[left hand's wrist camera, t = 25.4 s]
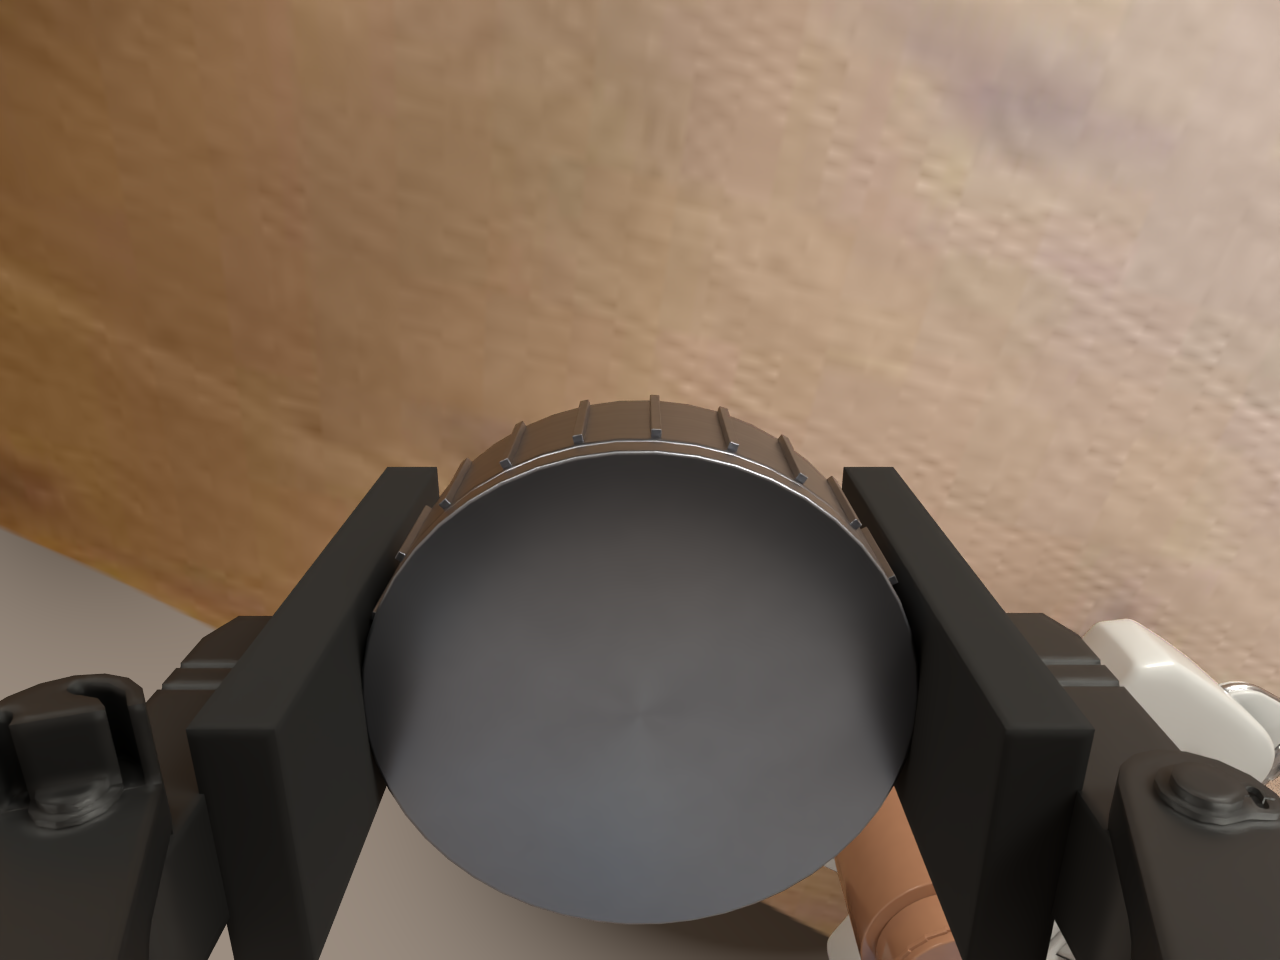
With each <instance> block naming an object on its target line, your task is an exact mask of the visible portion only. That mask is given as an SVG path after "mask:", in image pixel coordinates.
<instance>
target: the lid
mask: <svg viewBox="0 0 1280 960" xmlns="http://www.w3.org/2000/svg"><path fill="white" fill-rule="evenodd" d="M861 526H862V524H861V522H860V520H859V519H858V517H857V515H856V514H855V512H854V510H853V508H852V507H851V505H850V503H849V501H848V500H847V498H846V496H845V494H844V493H843V491H842V489H841V487H840V486H839V484H838V482H837V481H836V480H835V478H834V477H833V476H831V477H829V478H828V479H826V478H825V477H824V476H823V475H822V474H821V473H820V472H819V471H818V470H817V469H816V468H815V467H814V466H813V465H812V464H811V463H809V462H808V461H807V460H806V459H805V458H804V457H802V456H801V455H800V454H798V453H797V452H796V451H794V449H793V447H792V445H791V443H790V441H789V439H788V438H787V437H786V436H784V435H781V436H780V437H779V438H778V439H777V438H775V437H774V436H772V435H770V434H768V433H766V432H764V431H763V430H761V429H759V428H757V427H755V426H754V425H752V424H749V423H746V422H744V421H741V420H739V419H736V418H734V417H731V416H730V415H729V412H728V409H727V408H724V407H719V409H718V411H713V410H709V409H704V408H700V407H696V406H692V405H688V404H680V403H671V402H662V401H659V395H650V401H616V402H609V403H602V404H595V405H590V402H589V400H584V401H580V405H579V408H576V409H572V410H568V411H565V412H561V413H557V414H554V415H551V416H549V417H547V418H544V419H542V420H539V421H537V422H535V423H532V424H530V425H527V426H526V425H525V424H524V422H523V421H522V422H520V423H518V424H516V425H515V427H514V429H513V432H512V434H511V435H509V436H507V437H506V438H504V439H502V440H500V441H499V442H497V443H495V444H494V445H493V446H491V447H490V448H489V449H488V450H486V451H485V452H484V453H482V454H481V455H480V456H479V457H477V458H476V459H475V460H473V461H471V460H470V459H468V458H466V459H465V460H464V461H463V462H462V463H461V465H460V466H459V468H458V470H457V472H456V474H455V475H454V477H453V479H452V481H451V483H450V484H449V485H448V487H447V488H446V489H445V491H444V492H443V494H442V495H441V496H440V498H439V499H438V501H437V502H436V503H435V505H434V506H433V507H432V508H430V507H429V506H427V505H426V506H425V507H424V509H423V511H422V512H421V514H420V516H419V518H418V519H417V521H416V523H415V524H414V526H413V528H412V529H411V531H410V533H409V535H408V536H407V538H406V540H405V541H404V543H403V545H402V547H401V548H400V550H399V552H398V553H397V555H396V557H395V559H396V560H398V561H400V564H399V565H398V567H397V569H396V571H395V572H394V574H393V576H392V578H391V579H390V581H389V583H388V585H387V587H386V588H385V590H384V592H383V594H382V595H381V597H380V599H379V601H378V602H377V604H376V606H375V608H374V609H373V611H372V614H371V619H372V620H373V622H372V625H371V628H370V631H369V634H368V637H367V643H366V648H365V654H364V660H363V666H362V693H363V702H364V710H365V718H366V725H367V733H368V738H369V742H370V745H371V748H372V752H373V755H374V758H375V761H376V763H377V766H378V768H379V770H380V772H381V774H382V776H383V779H384V781H385V783H386V785H387V787H388V789H389V791H390V792H391V794H392V795H393V797H394V798H395V800H396V801H397V803H398V805H399V806H400V808H401V809H402V811H403V812H404V814H405V815H406V816H407V817H408V819H409V820H410V821H411V822H412V823H413V825H414V826H415V827H416V828H417V829H418V830H419V832H420V833H421V834H422V835H423V836H424V837H425V838H426V839H427V840H428V841H429V842H430V843H431V844H432V845H433V846H434V847H435V848H436V849H438V850H439V851H440V852H441V853H442V854H443V855H444V856H445V857H446V858H447V859H449V860H450V861H451V862H453V863H454V864H456V865H457V866H458V867H460V868H461V869H463V870H464V871H465V872H467V873H468V874H470V875H471V876H472V877H474V878H475V879H477V880H479V881H481V882H483V883H484V884H486V885H488V886H490V887H492V888H493V889H495V890H497V891H499V892H501V893H503V894H505V895H507V896H510V897H512V898H515V899H517V900H519V901H522V902H524V903H526V904H529V905H531V906H534V907H538V908H541V909H544V910H547V911H551V912H554V913H557V914H561V915H565V916H570V917H575V918H580V919H585V920H590V921H597V922H608V923H619V924H664V923H673V922H682V921H691V920H696V919H701V918H706V917H710V916H715V915H720V914H724V913H727V912H730V911H734V910H737V909H740V908H743V907H746V906H749V905H752V904H755V903H757V902H760V901H762V900H764V899H766V898H769V897H771V896H773V895H775V894H778V893H780V892H782V891H784V890H786V889H788V888H789V887H791V886H793V885H795V884H796V883H798V882H800V881H801V880H803V879H805V878H807V877H808V876H810V875H812V874H813V873H814V872H816V871H817V870H818V869H820V868H821V867H822V866H824V865H825V864H826V863H828V862H829V861H830V860H832V859H833V858H834V857H836V856H837V855H838V854H839V853H840V852H841V851H842V850H843V849H844V848H845V847H846V846H847V845H849V844H850V843H851V842H852V841H853V840H854V839H855V838H856V837H857V836H858V835H859V834H860V833H861V832H862V830H863V829H864V828H865V827H866V825H867V824H868V823H869V822H870V820H871V819H872V818H873V817H874V816H875V814H876V813H877V812H878V811H879V809H880V808H881V806H882V804H883V803H884V801H885V799H886V798H887V796H888V795H889V793H890V791H891V790H892V788H893V786H894V785H895V783H896V781H897V778H898V776H899V774H900V771H901V769H902V767H903V764H904V762H905V760H906V757H907V755H908V751H909V748H910V744H911V740H912V736H913V730H914V723H915V715H916V707H917V699H918V690H919V678H918V660H917V655H916V650H915V645H914V640H913V635H912V631H911V628H910V625H909V623H908V620H907V617H906V614H905V612H904V609H903V606H902V604H901V601H900V599H899V597H898V595H897V593H896V592H895V590H894V588H893V586H892V585H894V584H896V583H898V581H897V579H896V576H895V574H894V573H893V571H892V569H891V568H890V566H889V564H888V562H887V561H886V559H885V557H884V556H883V554H882V552H881V550H880V549H879V547H878V545H877V544H876V542H875V540H874V538H873V537H872V535H871V533H870V532H869V530H868V528H867V527H865V528H862V529H860V527H861Z"/></svg>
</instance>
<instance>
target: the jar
mask: <svg viewBox="0 0 1280 960" xmlns="http://www.w3.org/2000/svg"><path fill="white" fill-rule="evenodd" d="M834 861H835V865H836V869H837V872H838V876H839V880H840V884H841V887H842V891H843V895H844V898H845V902H846V906H847V910H848V913H849V917H850V921H851V925H852V928H853V932H854V936H855V940H856V943H857V947H858V951H859V954H860V958H861V960H962V958H961V956H960V953H959V950H958V948H957V945H956V943H955V940H954V938H953V935H952V933H951V930H950V928H949V925H948V922H947V920H946V917H945V915H944V912H943V910H942V907H941V905H940V902H939V899H938V897H937V894H936V892H935V889H934V887H933V884H932V882H931V879H930V876H929V874H928V871H927V869H926V866H925V864H924V861H923V859H922V856H921V854H920V851H919V848H918V846H917V843H916V841H915V838H914V836H913V833H912V831H911V828H910V825H909V823H908V820H907V818H906V815H905V813H904V810H903V808H902V805H901V802H900V800H899V797H898V795H897V792H896V790H895V787H894V786H893V788H892V790H891V791H890V793H889V795H888V796H887V798H886V799H885V801H884V803H883V804H882V806H881V808H880V809H879V811H878V812H877V813H876V814H875V816H874V817H873V818H872V819H871V820H870V822H869V823H868V824H867V825H866V827H865V828H864V829H863V830H862V832H861V833H860V834H859V835H858V836H857V837H856V838H855V839H854V840H853V841H852V842H851V843H850V844H849V845H847V846H846V847H845V848H844V849H843V850H842V851H841V852H840V853H839V854H838V855H837V856H836V857H834Z"/></svg>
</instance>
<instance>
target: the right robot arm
mask: <svg viewBox="0 0 1280 960" xmlns="http://www.w3.org/2000/svg"><path fill="white" fill-rule="evenodd" d="M1082 639H1083V641H1084V642H1085V643H1086V644H1087V645H1088V646H1089V647H1090V649H1091V650H1092V651H1093V652H1094V653H1095V654H1096V655H1097V656H1098V658H1099V659H1100V660H1101V661H1100V662H1101V665H1105V666H1106V667H1107V668H1108V669H1109V670H1110V671H1111V672H1112V673H1113V675H1114V676H1115V677H1116V678H1117V679H1118V680H1119V685H1120V686H1124V687H1125V688H1126V689H1127V690H1128V692H1129V693H1130V694H1131V695H1132V696H1133V697H1134V698H1135V699H1136V701H1137V702H1138V703H1139V704H1140V705H1141V706H1142V707H1143V709H1144V710H1145V711H1146V712H1147V713H1148V714H1149V715H1150V716H1151V718H1152V719H1153V720H1154V721H1155V722H1156V723H1157V724H1158V726H1159V727H1160V728H1161V729H1162V730H1163V731H1164V732H1165V733H1166V735H1167V736H1168V737H1169V738H1170V739H1171V740H1172V741H1173V742H1174V744H1175V745H1176V746H1177V747H1178V748H1179V749H1180V750H1181V751H1186V752H1190V753H1194V754H1197V755H1201V756H1205V757H1208V758H1212V759H1216V760H1219V761H1221V762H1223V763H1226V764H1228V765H1230V766H1232V767H1234V768H1236V769H1238V770H1241V771H1243V772H1245V773H1247V774H1249V775H1251V776H1252V777H1254V778H1255V779H1257V780H1258V781H1259V782H1261V783H1262V784H1263V785H1266V784H1267V783H1268V782H1269V781H1270V780H1275V779H1276V778H1277V777H1279V776H1280V698H1279V697H1277V696H1275V695H1273V694H1272V693H1270V692H1268V691H1266V690H1264V689H1263V688H1261V687H1259V686H1256V685H1253V684H1250V683H1246V682H1241V681H1230V682H1224V683H1220V684H1218V683H1217V682H1216V681H1215V680H1213V679H1212V678H1211V677H1210V676H1209V675H1208V674H1207V673H1206V672H1205V671H1203V670H1202V669H1201V668H1200V667H1199V666H1198V665H1197V664H1195V663H1194V662H1193V661H1192V660H1191V659H1189V658H1188V657H1187V656H1186V655H1185V654H1183V653H1182V652H1181V651H1179V650H1178V649H1177V648H1175V647H1174V646H1173V645H1171V644H1170V643H1169V642H1167V641H1166V640H1164V639H1163V638H1161V637H1160V636H1159V635H1157V634H1156V633H1154V632H1152V631H1151V630H1149V629H1148V628H1146V627H1145V626H1143V625H1141V624H1140V623H1138V622H1136V621H1134V620H1132V619H1118V620H1109V621H1102V622H1098V623H1096V624H1095V625H1093V626H1092V627H1091V628H1090V629H1089V630H1088V631H1087V633H1086V634H1085V635H1084V636H1083V637H1082ZM824 866H825V867H827V868H829V869H832V870H834V871H836V872H837V869H836V865H835V861H834V858H833V859H832V860H830V861H829V862H828V863H826V864H825V865H824ZM827 952H828V957H829V960H861V958H860V954H859V951H858V947H857V943H856V940H855V936H854V932H853V928H852V925H851V921H850V917H849V914H848V915H847V917H846V918H845V919H844V920H843V921H842V923H841V924H840V925H839V926H838V927H837V928H836V929H835V931H834V932H833V933H832V934H831V936H830V937H829V939H828V942H827ZM1046 960H1075V958H1074V956H1073V954H1072V952H1071V950H1070V948H1069V946H1068V944H1067V943H1066V941H1065V939H1064V937H1063V935H1062V933H1061V931H1060V929H1059V927H1058V926H1057V924H1056V922H1055V921H1054V925H1053V930H1052V935H1051V940H1050V944H1049V949H1048V954H1047V958H1046Z"/></svg>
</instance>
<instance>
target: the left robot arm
mask: <svg viewBox="0 0 1280 960" xmlns="http://www.w3.org/2000/svg"><path fill="white" fill-rule="evenodd" d="M842 491H843V493H844V494H845V496H846V498H847V500H848V501H849V503H850V505H851V507H852V508H853V510H854V512H855V514H856V515H857V517H858V519H859V520H860V522H861V524H862V526H861V527H860V529H862V528H865V527H867V528H868V530H869V532H870V533H871V535H872V537H873V538H874V540H875V542H876V544H877V545H878V547H879V549H880V550H881V552H882V554H883V556H884V557H885V559H886V561H887V562H888V564H889V566H890V568H891V569H892V571H893V573H894V574H895V576H896V579H897V581H898V583H896V584H894V585H892V586H893V588H894V590H895V592H896V593H897V595H898V597H899V599H900V601H901V604H902V606H903V609H904V612H905V614H906V617H907V620H908V623H909V625H910V628H911V631H912V635H913V640H914V645H915V650H916V655H917V660H918V678H919V690H918V699H917V707H916V715H915V723H914V730H913V736H912V740H911V744H910V748H909V751H908V755H907V757H906V760H905V762H904V764H903V767H902V769H901V771H900V774H899V776H898V778H897V781H896V783H895V785H894V787H895V790H896V792H897V795H898V797H899V800H900V802H901V805H902V808H903V810H904V813H905V815H906V818H907V820H908V823H909V825H910V828H911V831H912V833H913V836H914V838H915V841H916V843H917V846H918V848H919V851H920V854H921V856H922V859H923V861H924V864H925V866H926V869H927V871H928V874H929V876H930V879H931V882H932V884H933V887H934V889H935V892H936V894H937V897H938V899H939V902H940V905H941V907H942V910H943V912H944V915H945V917H946V920H947V922H948V925H949V928H950V930H951V933H952V935H953V938H954V940H955V943H956V945H957V948H958V950H959V953H960V956H961V958H962V960H1046V958H1047V954H1048V949H1049V944H1050V940H1051V935H1052V930H1053V925H1054V921H1055V922H1056V924H1057V926H1058V927H1059V929H1060V931H1061V933H1062V935H1063V937H1064V939H1065V941H1066V943H1067V944H1068V946H1069V948H1070V950H1071V952H1072V954H1073V956H1074V958H1075V960H1280V798H1279V796H1278V795H1277V794H1276V793H1275V792H1273V791H1272V790H1270V789H1269V788H1268V787H1266V786H1265V785H1263V784H1262V783H1261V782H1259V781H1258V780H1257V779H1255V778H1254V777H1252V776H1251V775H1249V774H1247V773H1245V772H1243V771H1241V770H1238V769H1236V768H1234V767H1232V766H1230V765H1228V764H1226V763H1223V762H1221V761H1219V760H1216V759H1212V758H1208V757H1205V756H1201V755H1197V754H1194V753H1190V752H1186V751H1181V750H1180V749H1179V748H1178V747H1177V746H1176V745H1175V744H1174V742H1173V741H1172V740H1171V739H1170V738H1169V737H1168V736H1167V735H1166V733H1165V732H1164V731H1163V730H1162V729H1161V728H1160V727H1159V726H1158V724H1157V723H1156V722H1155V721H1154V720H1153V719H1152V718H1151V716H1150V715H1149V714H1148V713H1147V712H1146V711H1145V710H1144V709H1143V707H1142V706H1141V705H1140V704H1139V703H1138V702H1137V701H1136V699H1135V698H1134V697H1133V696H1132V695H1131V694H1130V693H1129V692H1128V690H1127V689H1126V688H1125V687H1124V686H1120V685H1119V680H1118V679H1117V678H1116V677H1115V676H1114V675H1113V673H1112V672H1111V671H1110V670H1109V669H1108V668H1107V667H1106V666H1105V665H1101V662H1100V661H1101V660H1100V659H1099V658H1098V656H1097V655H1096V654H1095V653H1094V652H1093V651H1092V650H1091V649H1090V647H1089V646H1088V645H1087V644H1086V643H1085V642H1084V641H1083V639H1082V638H1081V637H1080V636H1079V635H1078V634H1076V633H1075V632H1073V631H1071V630H1070V629H1068V628H1066V627H1065V626H1063V625H1061V624H1060V623H1058V622H1056V621H1055V620H1053V619H1051V618H1050V617H1048V616H1046V615H1045V614H1043V613H1005V612H1004V610H1003V609H1002V608H1001V606H1000V605H999V604H998V603H997V601H996V600H995V599H994V597H993V596H992V595H991V593H990V592H989V591H988V590H987V588H986V587H985V586H984V584H983V583H982V582H981V580H980V579H979V578H978V577H977V575H976V574H975V573H974V571H973V570H972V569H971V567H970V566H969V565H968V564H967V562H966V561H965V560H964V558H963V557H962V556H961V554H960V553H959V552H958V551H957V549H956V548H955V547H954V545H953V544H952V543H951V542H950V540H949V539H948V538H947V536H946V535H945V534H944V532H943V531H942V530H941V529H940V527H939V526H938V525H937V523H936V522H935V521H934V519H933V518H932V517H931V516H930V514H929V513H928V512H927V510H926V509H925V508H924V506H923V505H922V504H921V503H920V501H919V500H918V499H917V497H916V496H915V495H914V493H913V492H912V491H911V490H910V488H909V487H908V486H907V484H906V483H905V482H904V480H903V479H902V478H901V477H900V475H899V474H898V473H897V471H896V470H895V469H894V468H893V467H844V470H843V481H842ZM438 499H439V486H438V475H437V467H387V468H386V470H385V471H384V472H383V473H382V475H381V476H380V477H379V479H378V480H377V481H376V483H375V484H374V485H373V486H372V488H371V489H370V490H369V492H368V493H367V494H366V496H365V497H364V498H363V499H362V501H361V502H360V503H359V505H358V506H357V507H356V509H355V510H354V511H353V512H352V514H351V515H350V516H349V518H348V519H347V520H346V522H345V523H344V524H343V525H342V527H341V528H340V529H339V531H338V532H337V533H336V534H335V536H334V537H333V538H332V540H331V541H330V542H329V544H328V545H327V546H326V547H325V549H324V550H323V551H322V553H321V554H320V555H319V557H318V558H317V559H316V560H315V562H314V563H313V564H312V566H311V567H310V568H309V570H308V571H307V572H306V573H305V575H304V576H303V577H302V579H301V580H300V581H299V583H298V584H297V585H296V586H295V588H294V589H293V590H292V592H291V593H290V594H289V596H288V597H287V598H286V599H285V601H284V602H283V603H282V605H281V606H280V607H279V609H278V610H277V611H276V612H275V614H274V615H273V616H238V617H236V618H235V619H233V620H231V621H230V622H228V623H226V624H225V625H223V626H221V627H220V628H218V629H217V630H215V631H213V632H212V633H210V634H208V635H207V636H205V637H203V638H202V639H201V641H200V642H199V643H198V644H197V645H196V646H195V647H194V649H193V650H192V651H191V652H190V653H189V654H188V655H187V657H186V658H185V659H184V660H183V661H182V662H181V667H180V668H176V669H175V670H174V671H173V672H172V674H171V675H170V676H169V677H168V678H167V679H166V680H165V682H164V683H163V684H162V690H157V691H156V692H155V693H154V694H153V695H152V696H151V698H150V699H149V700H148V701H147V702H145V698H144V694H143V689H142V688H141V687H140V686H139V685H137V684H136V683H135V682H133V681H132V680H131V679H129V678H126V677H121V676H115V675H110V674H92V675H75V676H70V677H66V678H62V679H58V680H53V681H49V682H45V683H41V684H38V685H36V686H33V687H30V688H28V689H26V690H23V691H20V692H18V693H16V694H13V695H11V696H8V697H6V698H4V699H3V700H1V701H0V960H208V958H209V956H210V954H211V952H212V950H213V948H214V947H215V945H216V943H217V941H218V939H219V937H220V935H221V933H222V931H223V930H224V928H225V926H226V924H227V927H228V932H229V937H230V941H231V946H232V951H233V955H234V960H319V957H320V955H321V952H322V949H323V947H324V944H325V942H326V939H327V937H328V934H329V932H330V929H331V926H332V924H333V921H334V919H335V916H336V914H337V911H338V909H339V906H340V903H341V901H342V898H343V896H344V893H345V890H346V888H347V886H348V883H349V880H350V878H351V875H352V873H353V870H354V868H355V865H356V863H357V860H358V858H359V855H360V852H361V850H362V847H363V845H364V842H365V840H366V837H367V835H368V832H369V829H370V827H371V824H372V822H373V819H374V817H375V814H376V812H377V809H378V806H379V804H380V801H381V799H382V796H383V794H384V791H385V789H386V786H387V785H386V783H385V781H384V779H383V776H382V774H381V772H380V770H379V768H378V766H377V763H376V761H375V758H374V755H373V752H372V748H371V745H370V742H369V738H368V733H367V725H366V718H365V710H364V702H363V693H362V666H363V660H364V654H365V648H366V643H367V637H368V634H369V631H370V628H371V625H372V622H373V620H372V619H371V614H372V611H373V609H374V608H375V606H376V604H377V602H378V601H379V599H380V597H381V595H382V594H383V592H384V590H385V588H386V587H387V585H388V583H389V581H390V579H391V578H392V576H393V574H394V572H395V571H396V569H397V567H398V565H399V564H400V561H398V560H396V559H395V557H396V555H397V553H398V552H399V550H400V548H401V547H402V545H403V543H404V541H405V540H406V538H407V536H408V535H409V533H410V531H411V529H412V528H413V526H414V524H415V523H416V521H417V519H418V518H419V516H420V514H421V512H422V511H423V509H424V507H425V506H426V505H427V506H429V507H430V508H432V507H433V506H434V505H435V503H436V502H437V501H438Z"/></svg>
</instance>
